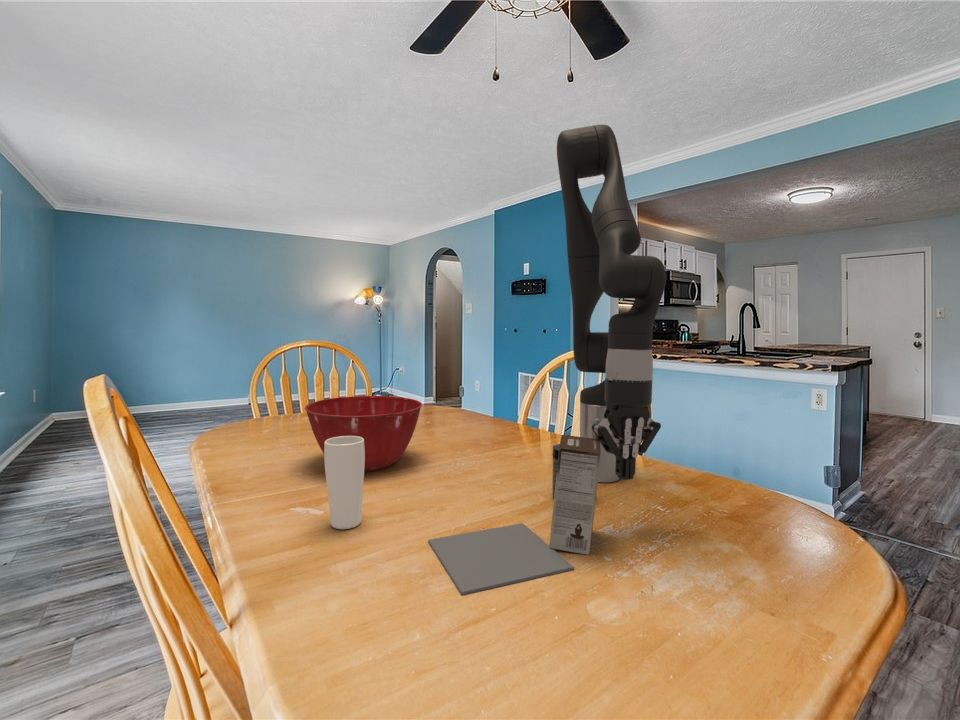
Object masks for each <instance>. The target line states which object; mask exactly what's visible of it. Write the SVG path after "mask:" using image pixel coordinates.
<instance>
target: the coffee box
mask: <svg viewBox="0 0 960 720" xmlns="http://www.w3.org/2000/svg"><path fill="white" fill-rule="evenodd" d="M560 436H561V437H560V443H559V444H560V448H559V456H558V465H557V475H556V484H555V494H554V497H553V506H552V507H553V508H552V516H551V525H550V526H551V527H550V538H549V546H550V548H552V549H554V550H557V551H558V550H559V551H565V552H570V553H575V554H582V555H588V556H589V555H590V554H591V545H592V544H591V543H592V537H593V536H592V535H593V527H594V526H593V525H594V518H595V510H596V502H597V493H598V492H597V491H598V483H599V482H598V476H599V467H600V458H601V449H600V441H599V439H594V438H585V437H580V436H575V435H567V434H561V435H560Z"/></svg>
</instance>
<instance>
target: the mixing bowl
mask: <svg viewBox="0 0 960 720" xmlns="http://www.w3.org/2000/svg"><path fill="white" fill-rule="evenodd" d="M422 407H423V403H422V402H421V401H419V400H417V399H413V398H409V397H402V396H392V395H391V396H389V395H357V396H353V395H351V396H342V397H341V396H340V397H333V398H326V399H320V400H316V401H313V402H310V403H308V404H306V405H305V406H304V411H306V415H307V417H308V421H309V425H310V427H311V430H312V433H313V435H314V439H315V440H316V443H317V445H318V446H319V448H320V450H321V451H322V453H323V454H324V442H325V441H326V440H327V439H330V438H333V437H339V436H358V437H362V438H363V439H364V446H365V469H364V473H367V472H375V471H380V470H383V469H386V468H388V467H390V466H391V465H393V464H394V463H396V462H397V461H398V460H399V459H400V458H401V457H403V455H404V454H405V451H406V450H407V448H408V446H409V443H411V440H412V437H413V434H414V432H415V430H416V426H417V424H418V420H419V416H420V413H421V408H422Z"/></svg>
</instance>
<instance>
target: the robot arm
mask: <svg viewBox="0 0 960 720" xmlns="http://www.w3.org/2000/svg"><path fill="white" fill-rule="evenodd" d="M556 158H557V167H558V174H559V180H560V181H559V182H560V187H561V195H562V196H561V197H562V202H563V209H564V217H565V218H564V219H565V232H566V233H565V234H566V236H565V237H566V238H565V239H566V252H567V255H566V256H567V265H568V274H569V284H570V285H569V286H570V295H571V304H572V305H571V306H572V335H573V336H572V342H573V343H572V345H573V349H572V350H573V361H574V366H575V367H576V369H577V370H578V371H579V372H583V373H597V374H598V373H599V374H605V377H604V380H603V381H601V382H599V383H598V384H596V385H593V386H592V385H591V386H588V387H586V388H583V389H582V390H580V394H579V437H585V438H594V439H599V441H600V449H601V458H600V467H599V476H598V483H614V482H616V481H619V480H623V481H627V480H629V481H630V480H633V479H634V476H635V475H636V465H637V463H636V461H637V457H638V456H639V454H645V453H646V452H647V450H648V449H649V447H650V446H651V444H652V443H653V441H654V439H655V438H656V436H657V434H658V433H659V431H660V429H661V427H662V425H661V423H660V422H657V421H655V420H653V418H651V412H650V410H649V407H650V406H651V405H652V400H653V398H652V397H653V380H654V379H653V378H654V377H653V374H654V361H653V333H654V332H653V331H654V329H653V328H654V323H655V320H656V316H657V315H658V314H657V313H658V310H659V307H660V303H661V300H662V298H663V294H664V291H665V288H666V285H667V271H666V268H665V264H664V263H663V261H662V260H661V259H659V258H658V257H656V256H652V255H639V254H638V255H636V254H634V253H635V252H637V250H638V249H639V247H640V245H641V242H642V239H641V238H642V235H641V232H640V228H639V227H638V225H637V221H636V218H635V216H634V213H633V210H632V208H631V206H630V202H629V198H628V194H627V188H626V182H625V178H624V177H625V176H624V171H623V165H622V162H621V156H620V149H619V146H618V141H617V138H616V135H615V133H614V130H613V128H612V127H611V126H609V125H608V124H593V125H588V126H583V127H582V126H581V127H576V128H571V129H566V130H562V131H561V132H560V133H559V134H558V135H557V140H556ZM598 176H603V178H604V181H603V183H602V186H601V189H600V191H599V193H598V195H597V196H596V199H595V201H594V203H593V207H592V210H591V211H590V209H589V207H588V205H587V204H586V202H585V200H584V198H583V195H582V192H581V189H580V185H579V180H580V179H587V178H593V177H598ZM603 294H605V295H606V296H608V297H610V298H614V299H615V298H616V299H634V300H633V303H632V306H631V308H630V309H629V310H628V311H625V312H621V313H616V314H613V315H612V316H611V317H609V318H610V319H609V320H608V331H605V332H602V331H601V332H599V331H597V332H592V331H591V319H592V316H593V313H594V311H595V309H596V306H597V305H598V303H599V301H600V299H601V297H602V296H603Z"/></svg>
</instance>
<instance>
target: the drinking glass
mask: <svg viewBox="0 0 960 720" xmlns="http://www.w3.org/2000/svg"><path fill="white" fill-rule="evenodd" d="M323 455H324V456H323V458H324V460H323V462H324V472H325V473H324V474H325V482H326V488H327V489H326V490H327V497H328V508H329V509H328V510H329V523H330V526H331V527H332V528H334V529H337V530H349V529H353V528H356V527H358V526H359V525H360V524H361V523H362V520H363V497H364V496H363V495H364V482H365V472H364V469H365V446H364V439H363V438H362V437H358V436H339V437H333V438H330V439H327V440H326V441H325V442H324V453H323Z"/></svg>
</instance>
